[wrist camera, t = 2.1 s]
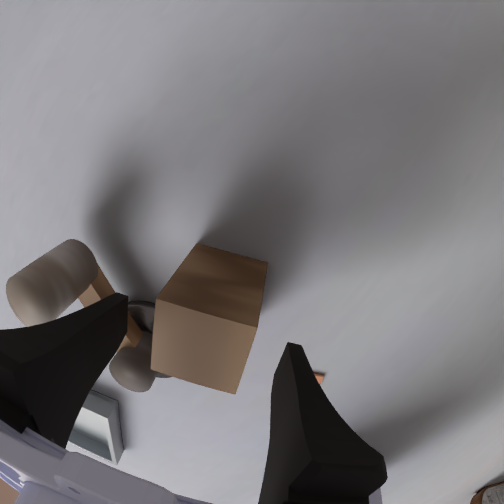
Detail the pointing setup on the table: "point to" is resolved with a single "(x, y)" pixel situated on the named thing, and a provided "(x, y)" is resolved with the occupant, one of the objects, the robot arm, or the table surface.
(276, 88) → the table surface
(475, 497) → the tin
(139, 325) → the crank base
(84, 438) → the tray
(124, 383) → the crank lever
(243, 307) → the block
